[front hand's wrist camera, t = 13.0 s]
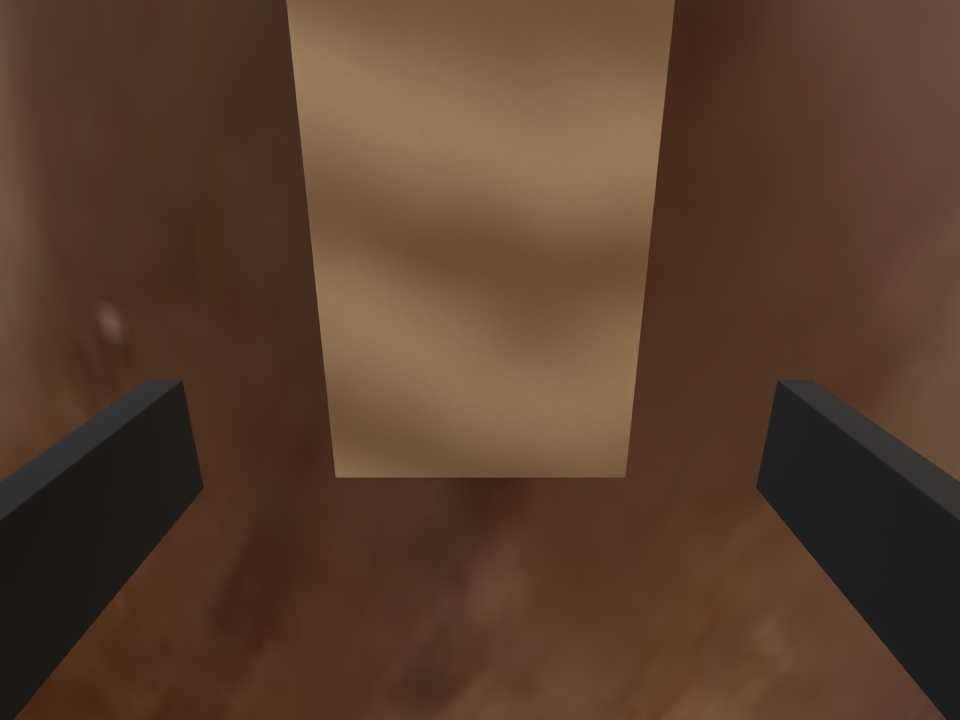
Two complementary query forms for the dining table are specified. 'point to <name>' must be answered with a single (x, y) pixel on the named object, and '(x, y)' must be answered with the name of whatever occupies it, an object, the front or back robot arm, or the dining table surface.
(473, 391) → the tan wooden block
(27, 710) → the dining table surface
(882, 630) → the front robot arm
